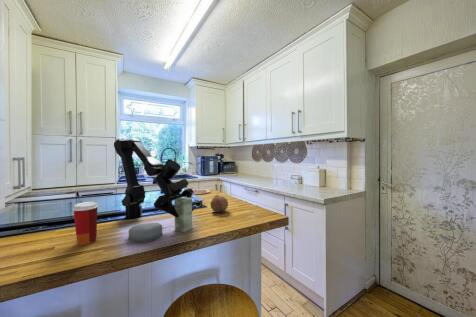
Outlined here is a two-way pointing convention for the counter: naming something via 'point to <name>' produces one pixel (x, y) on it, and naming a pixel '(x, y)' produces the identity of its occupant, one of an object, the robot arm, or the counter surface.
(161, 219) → the counter surface
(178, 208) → the sage block
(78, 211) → the paper cup
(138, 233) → the slate plinth
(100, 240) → the counter surface
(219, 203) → the onion
